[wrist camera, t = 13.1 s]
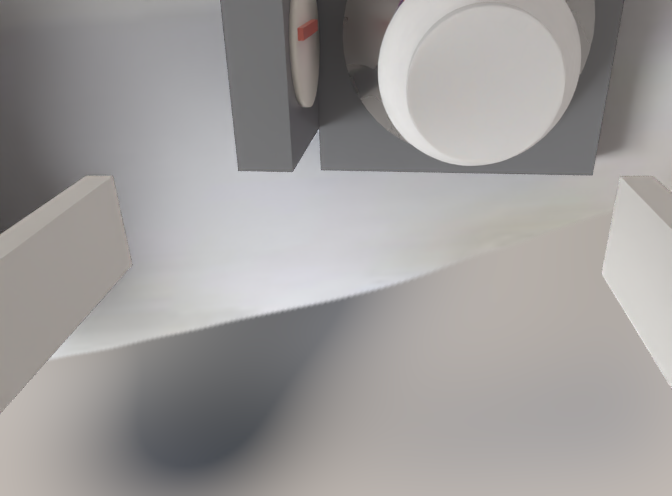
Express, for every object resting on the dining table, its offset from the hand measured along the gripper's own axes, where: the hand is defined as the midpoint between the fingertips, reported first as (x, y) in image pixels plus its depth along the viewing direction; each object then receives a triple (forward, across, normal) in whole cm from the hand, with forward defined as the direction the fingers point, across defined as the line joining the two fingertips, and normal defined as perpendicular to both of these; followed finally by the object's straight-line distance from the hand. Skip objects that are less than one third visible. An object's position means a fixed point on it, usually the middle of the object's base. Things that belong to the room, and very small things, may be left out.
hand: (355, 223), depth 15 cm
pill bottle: (+22, +4, +2) cm, 22 cm away
